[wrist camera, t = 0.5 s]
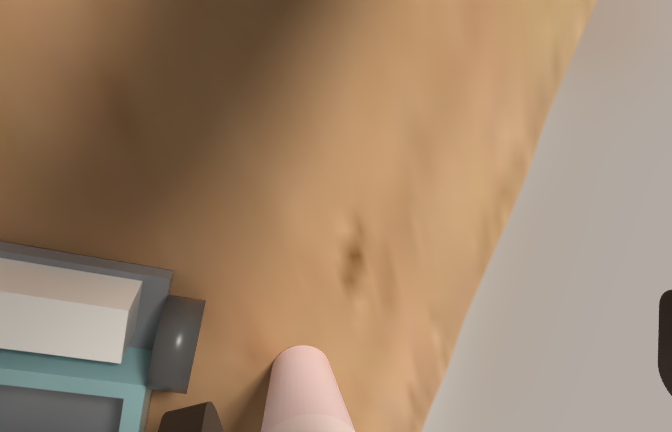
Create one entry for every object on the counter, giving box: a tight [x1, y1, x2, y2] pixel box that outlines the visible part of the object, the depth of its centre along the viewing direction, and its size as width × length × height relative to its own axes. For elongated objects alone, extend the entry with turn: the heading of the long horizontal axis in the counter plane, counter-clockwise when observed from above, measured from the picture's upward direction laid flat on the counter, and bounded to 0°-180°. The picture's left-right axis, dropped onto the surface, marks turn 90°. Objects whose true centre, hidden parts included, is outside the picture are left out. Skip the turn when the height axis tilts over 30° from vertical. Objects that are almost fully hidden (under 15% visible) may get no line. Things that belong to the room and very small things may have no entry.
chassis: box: [0, 241, 205, 432], centre depth 28 cm, size 16×15×5 cm
